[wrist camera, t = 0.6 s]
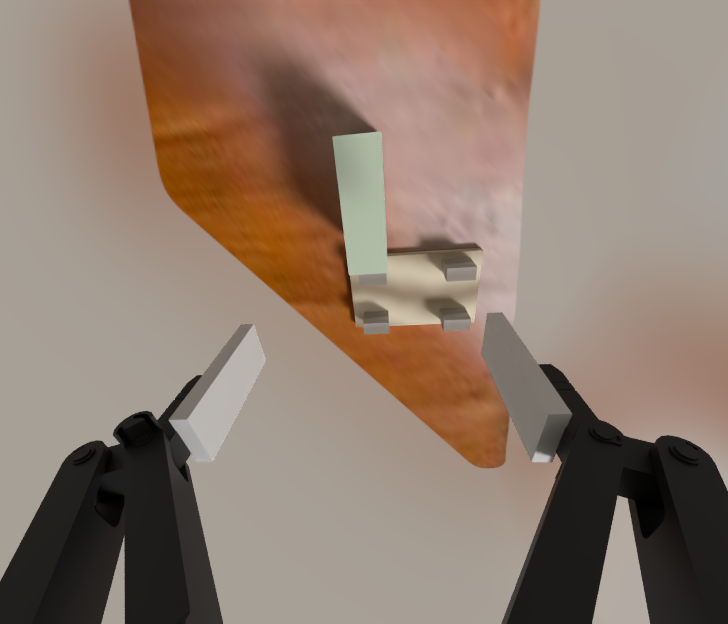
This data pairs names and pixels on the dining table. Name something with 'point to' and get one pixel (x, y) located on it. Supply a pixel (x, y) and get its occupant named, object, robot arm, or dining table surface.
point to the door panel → (362, 201)
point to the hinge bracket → (419, 291)
